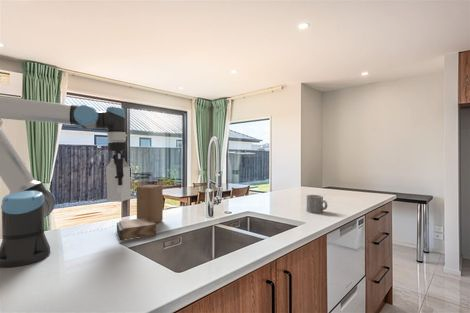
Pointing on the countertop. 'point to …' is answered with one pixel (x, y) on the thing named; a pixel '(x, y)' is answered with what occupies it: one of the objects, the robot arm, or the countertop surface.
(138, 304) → the countertop surface
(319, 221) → the countertop surface
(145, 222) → the block
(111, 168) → the milk carton
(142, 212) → the wooden block
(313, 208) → the coffee mug
